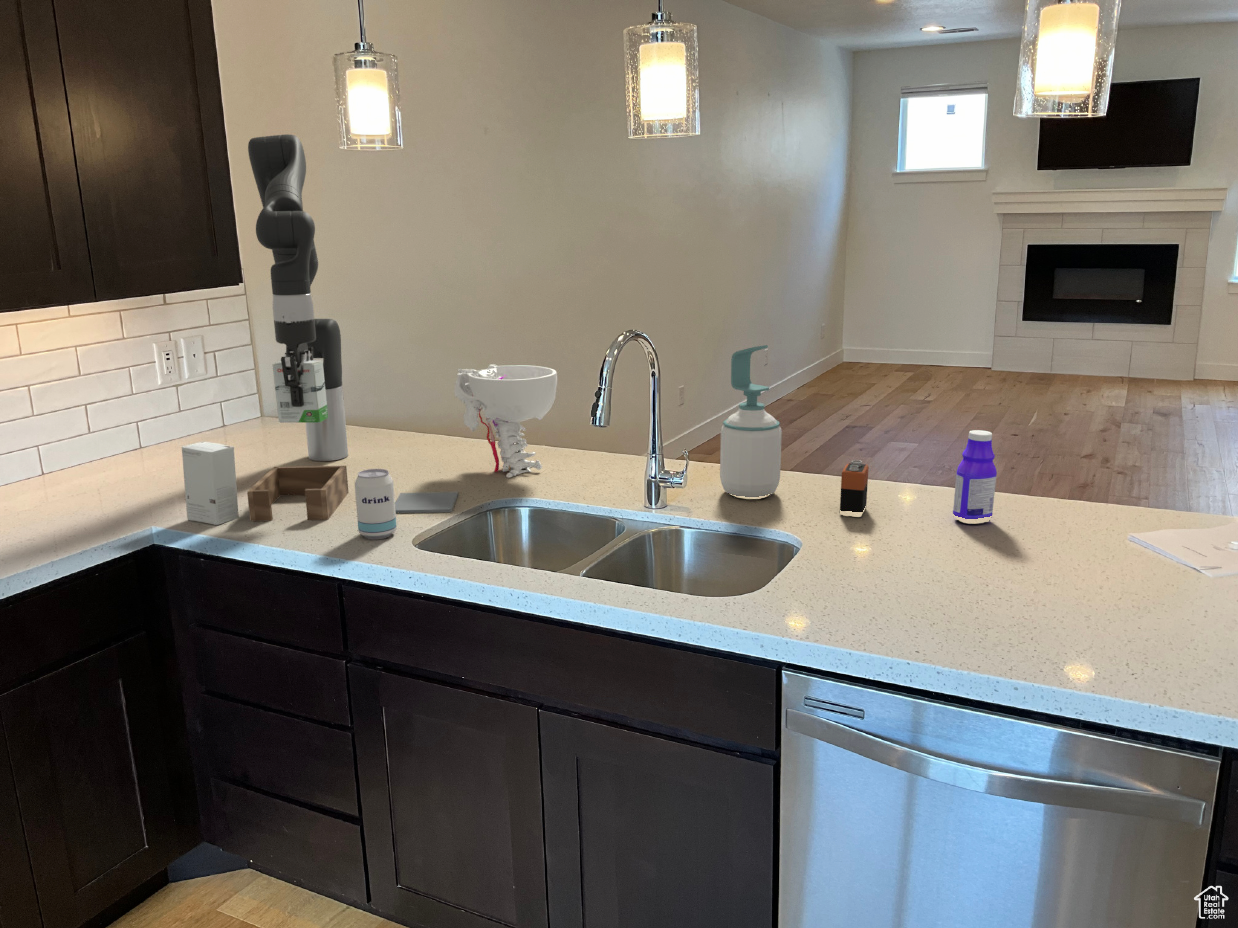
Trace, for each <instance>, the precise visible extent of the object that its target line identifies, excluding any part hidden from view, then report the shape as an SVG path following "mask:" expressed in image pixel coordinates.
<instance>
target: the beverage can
mask: <svg viewBox="0 0 1238 928" xmlns="http://www.w3.org/2000/svg"><path fill="white" fill-rule="evenodd" d="M394 486H395V485H394V479H393V478H392V476H391V475H390V471H389V470H387V469H383V468H370V469H364V470H360V471H359V472H358V473H357V477H356V479H355V481H354V491H355V492H354V493H355V506H356V514H357V515H356V517H357V518H356V519H357V529H358V530H357V531H358V533H359V534H360V535H361V536H364V538H366V539H369V540H382V539H386V538H389V537H390V536H392V534H393V533H395V532H396V530H397V529H398V528H397V513H396V511H395V502H396V500H395V487H394Z"/></svg>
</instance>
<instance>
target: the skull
mask: <svg viewBox="0 0 1238 928" xmlns="http://www.w3.org/2000/svg"><path fill="white" fill-rule="evenodd" d="M457 372H458V373H456V375H457V376H456V377H457V378H456V381H455V383H454V388H453V389H454V390H453V391H454V396H455V397H456V398H458V400H459V401H460V402H461V403H463V404H465V408H466V409H465V412H464V413H463V423H464V426H466V427H468V428H469V430H470V432H474V431H476V430H477V429H478V427H479V425H480V423H481V424H482V425H484V426H485V427H486V428H487V433H486V440H487V442H488V444H489V445H490V447H491V450H492V451H491V452H492V455H493V458H494V462H495V467H494V473H495V472H499V469H500V459H501V462H502V463H503V464H502V472H503V473H506V472H507V471H508V473H507V474H506V475H505V476H506V478H512V477H517V476H519V475H520V474H522V473H523V474H524V473H528V472H529V473H531V472H532V470H531V468H533V469H536V470H539V471H541V470H542V469H543V466H542V463H541V462H540V460H539V459H536V460H535V461H534V460H527V459H529V458H531V457H535V456H536V452H535V451H532V452H526V450H525V449H526V448H527V447H528V446H529V445H528V444H529V443H527V439H526V438H522V437H523V436H524V437H525V433H524V432H525V431H526V428H525V426H524V425H522V424H521V423H520V422H524V421H528V420H530V419H537V420H540V421H541V420H542V419H543V418H544V417H545V416H546V415H547V413H548V412H549V411H550V410H551V408H552V406H554V402H555V399H556V397H557V396H556V395H557V387H558V372H557V370H555V369H553V368H550V367H546V366H539V365H538V366H537V365H524V364H523V365H517V364H515V365H514V364H513V365H497V364H489V365H488V367H487V368H485V369H478V370H476V369H474V368H464V369H463V368H457ZM481 411H483V415H484V418H485V420H486V423H485V422H484V421H483V417H482V416H481ZM478 419H480V423H479V420H478ZM490 422H491V423H492V424H493V427H492V426H491V423H490ZM492 428H493V429H492ZM493 431H494V433H495V435H494V433H493ZM521 431H523V432H521ZM496 439H499V440H498V441H497V447H498V449H500V451H499V455H500V458H499V456H498V450H497V447H496Z"/></svg>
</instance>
